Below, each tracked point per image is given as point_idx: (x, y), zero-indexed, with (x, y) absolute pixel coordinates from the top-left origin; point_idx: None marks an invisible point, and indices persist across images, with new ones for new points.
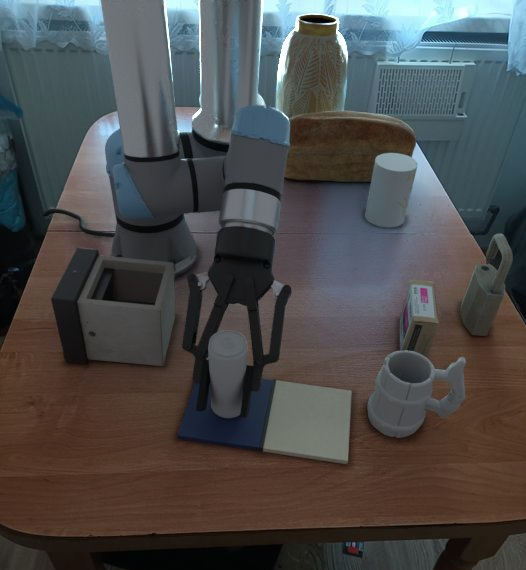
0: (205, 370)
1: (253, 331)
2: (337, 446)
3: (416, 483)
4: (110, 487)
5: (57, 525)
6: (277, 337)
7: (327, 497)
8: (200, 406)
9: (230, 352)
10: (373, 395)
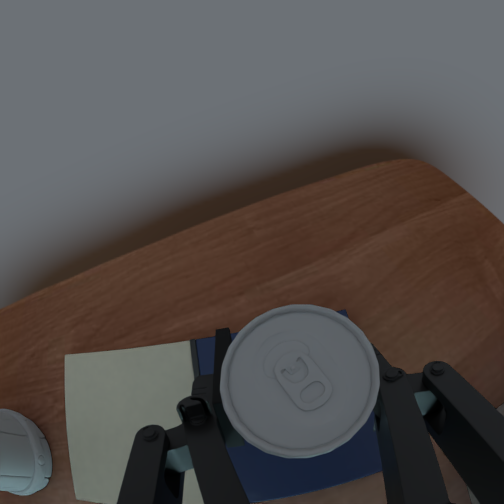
0: None
1: (229, 493)
2: (78, 377)
3: (6, 348)
4: (374, 213)
5: (386, 167)
6: (131, 486)
7: (92, 299)
8: None
9: (268, 332)
10: (22, 458)
